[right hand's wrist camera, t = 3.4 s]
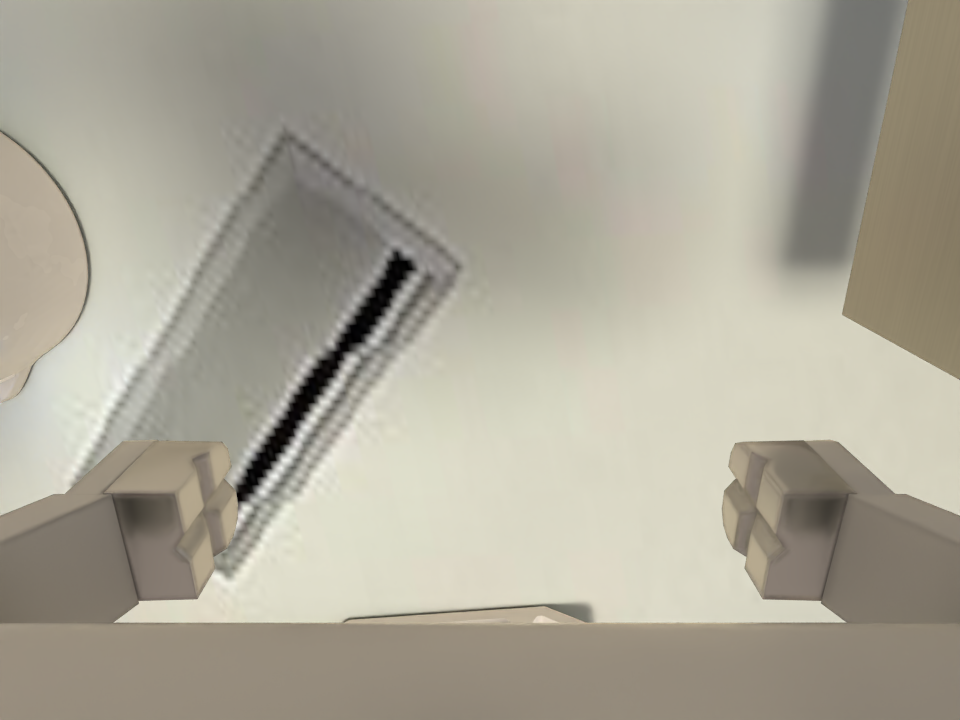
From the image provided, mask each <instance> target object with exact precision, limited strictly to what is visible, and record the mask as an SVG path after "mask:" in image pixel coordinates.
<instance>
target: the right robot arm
mask: <svg viewBox="0 0 960 720" xmlns="http://www.w3.org/2000/svg"><path fill="white" fill-rule="evenodd" d="M87 285H88V263H87V255H86V250H85V245H84V241H83V237H82V234H81V231H80V228H79V226H78V223H77V221H76V218H75V216H74V214H73V212H72V210H71V208H70V206H69V204H68V202H67V201H66V199H65V197H64V196H63V194H62V192H61V191H60V189H59V188H58V187H57V185H56V184H55V182H54V181H53V180H52V178H51V177H50V176H49V175H48V174H47V172H46V171H45V170H44V169H43V168H42V167H41V166H40V165H39V163H38V162H37V161H36V160H35V159H34V158H33V157H31V156H30V155H29V154H28V153H27V152H26V151H25V150H24V149H23V148H21V147H20V146H19V145H18V144H17V143H15V142H14V141H13V140H11V139H10V138H9V137H7V136H6V135H4V134H3V133H1V132H0V403H3V402H5V401H7V400H9V399H12V398H14V397H15V396H16V395H17V394H18V393H19V392H20V391H21V389H22V387H23V386H24V384H25V382H26V379H27V377H28V375H29V372H30V370H31V367H32V365H33V364H34V363H35V362H36V361H37V360H38V359H39V358H40V357H41V356H43V355H44V354H45V353H47V352H48V351H49V350H51V349H52V348H53V347H55V346H56V345H57V344H58V343H60V342H61V341H62V340H63V339H64V338H65V337H66V336H67V334H68V333H69V332H70V331H71V329H72V328H73V326H74V325H75V323H76V321H77V319H78V317H79V315H80V313H81V311H82V308H83V305H84V301H85V298H86V292H87ZM231 467H232V466H231V461H230V456H229V451H228V448H227V447H226V446H225V444H224V443H223V442H213V441H159V440H134V441H123V442H121V443H120V444H119V445H118V446H117V447H116V448H115V449H114V450H113V451H112V452H110V453H109V454H108V455H107V456H106V457H105V458H104V459H103V460H102V461H101V462H99V463H98V464H97V465H96V466H95V467H94V468H93V469H92V470H91V471H90V472H88V473H87V474H86V475H85V476H84V477H83V478H82V479H81V480H80V481H79V482H77V483H76V484H75V485H74V486H73V487H72V488H71V489H70V490H69V491H67V492H66V493H65V494H53V495H51V496H48V497H46V498H43V499H41V500H38V501H36V502H33V503H31V504H28V505H26V506H23V507H21V508H18V509H16V510H13V511H11V512H9V513H6V514H4V515H1V516H0V720H960V516H959V515H956V514H954V513H951V512H949V511H946V510H944V509H941V508H939V507H936V506H934V505H932V504H929V503H927V502H924V501H922V500H919V499H917V498H914V497H912V496H909V495H907V494H895V493H894V492H893V491H891V490H890V489H889V488H888V487H887V486H886V485H885V484H884V483H883V482H882V481H880V480H879V479H878V478H877V477H876V476H875V475H874V474H873V473H872V472H871V471H870V470H868V469H867V468H866V467H865V466H864V465H863V464H862V463H861V462H860V461H859V460H857V459H856V458H855V457H854V456H853V455H852V454H851V453H850V452H849V451H848V450H846V449H845V448H844V447H843V446H842V445H841V444H840V443H839V442H836V441H833V440H812V441H804V440H799V441H758V442H739V443H735V445H734V447H733V449H732V451H731V455H730V460H729V466H728V467H729V468H730V470H731V471H732V473H733V475H734V476H735V478H736V479H735V480H734V481H733V482H732V483H731V484H730V485H729V486H728V487H727V488H726V489H725V490H724V497H723V504H722V515H723V526H724V529H725V532H726V535H727V538H728V540H729V542H730V544H731V545H732V547H733V549H735V550H736V551H738V552H739V553H741V554H743V555H744V556H746V557H747V558H746V563H745V570H746V571H747V573H748V575H749V577H750V578H751V580H752V582H753V583H754V585H755V587H756V588H757V590H758V592H759V593H760V595H761V597H762V599H775V600H812V601H821V604H823V605H824V606H825V607H827V608H828V609H829V610H831V611H832V612H834V613H835V614H836V615H838V616H839V617H840V618H842V619H843V620H844V621H846V622H847V623H113V622H115V621H116V620H117V619H119V618H120V617H121V616H123V615H124V614H125V613H127V612H128V611H129V610H131V609H132V608H133V607H135V606H136V605H137V604H139V602H138V601H148V600H184V599H198V597H199V595H200V594H201V592H202V590H203V588H204V587H205V585H206V583H207V582H208V580H209V578H210V577H211V575H212V573H213V571H214V570H215V563H214V558H213V557H214V556H216V555H217V554H219V553H221V552H222V551H224V550H225V549H227V547H228V545H229V544H230V542H231V540H232V538H233V536H234V532H235V528H236V524H237V519H238V502H237V496H236V490H235V489H234V488H233V487H232V486H231V485H230V484H229V483H228V482H227V481H226V480H225V479H224V478H225V476H226V475H227V473H228V471H229V470H230V468H231Z"/></svg>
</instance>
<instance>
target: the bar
mask: <svg viewBox="0 0 960 720" xmlns="http://www.w3.org/2000/svg"><path fill="white" fill-rule="evenodd" d="M842 315H843V316H845V317H847V318H849V319H851V320H853V321H854V322H856V323H858V324H860V325H862V326H863V327H865V328H867V329H869V330H871V331H872V332H874V333H876V334H878V335H880V336H881V337H883V338H885V339H887V340H889V341H890V342H892V343H894V344H896V345H898V346H900V347H901V348H903V349H905V350H907V351H909V352H910V353H912V354H914V355H916V356H918V357H919V358H921V359H923V360H925V361H927V362H928V363H930V364H932V365H934V366H936V367H938V368H939V369H941V370H943V371H945V372H947V373H948V374H950V375H952V376H954V377H956V378H957V379H959V380H960V0H908V5H907V10H906V14H905V19H904V24H903V28H902V33H901V38H900V43H899V47H898V52H897V57H896V62H895V66H894V71H893V76H892V80H891V85H890V90H889V95H888V99H887V104H886V109H885V114H884V118H883V123H882V128H881V132H880V137H879V142H878V147H877V151H876V156H875V161H874V166H873V170H872V175H871V180H870V184H869V189H868V194H867V199H866V203H865V208H864V213H863V218H862V222H861V227H860V232H859V236H858V241H857V246H856V251H855V255H854V260H853V265H852V270H851V274H850V279H849V284H848V288H847V293H846V298H845V303H844V307H843V312H842Z"/></svg>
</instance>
